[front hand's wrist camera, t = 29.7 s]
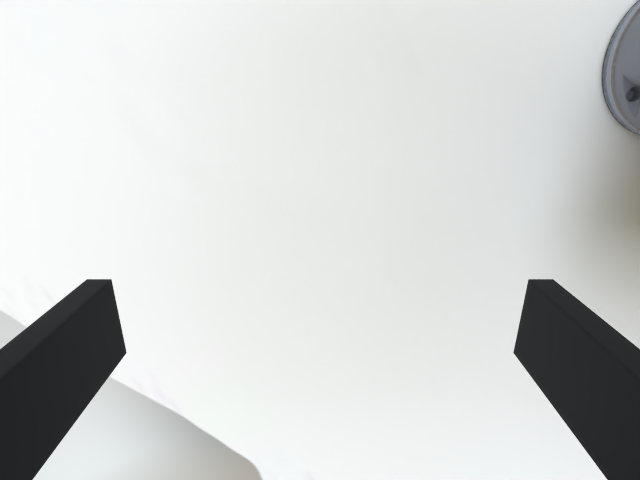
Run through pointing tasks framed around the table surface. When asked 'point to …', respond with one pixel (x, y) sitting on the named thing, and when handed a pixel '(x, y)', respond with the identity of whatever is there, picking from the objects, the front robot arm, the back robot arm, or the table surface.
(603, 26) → the table surface
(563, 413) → the front robot arm
